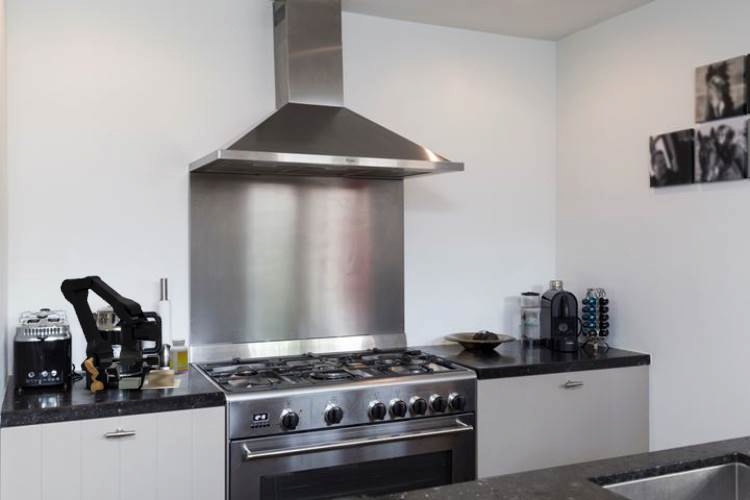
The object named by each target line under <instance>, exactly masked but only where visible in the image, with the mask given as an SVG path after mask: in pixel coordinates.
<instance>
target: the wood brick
mask: <svg viewBox="0 0 750 500" xmlns="http://www.w3.org/2000/svg"><path fill="white" fill-rule="evenodd" d="M175 374H176V373H175V370H170V369H159V370H157V369H156V370H154V369H153V370H150V371H149V372H148V373H147V381H148V387H160V386H173V384H174V382H175V379H176V377H175V376H176V375H175Z"/></svg>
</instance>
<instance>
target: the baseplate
mask: <svg viewBox="0 0 750 500" xmlns="http://www.w3.org/2000/svg"><path fill="white" fill-rule="evenodd" d="M181 382H182V379H181V378H177V379H176V378H175V382H174V384H173V386H160V387H148V380H144V384H143V386H141V388H140V390H152V389H153V390H157V389H178V388H179V387H180V384H181Z"/></svg>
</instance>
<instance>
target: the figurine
mask: <svg viewBox="0 0 750 500" xmlns="http://www.w3.org/2000/svg"><path fill="white" fill-rule="evenodd" d="M92 361H93V358H90V359H89V360H86V361H85V366H86V367H87V370H89V371H90V373H92V374H93V375H92V380H93V381H94V383H92V385H91V389H90V390H91V392H92V393H96V392H97V391H100V390H103V389H104V387H105V384H103V383H102V382H100V381H97V380H95V378H96V377H97V375H98V374H99V373H98V371H97V370H96V369H95V368H94V366H93V363H92ZM93 369H94V370H95V371H94V370H93ZM96 372H97V373H96ZM93 378H94V379H93Z"/></svg>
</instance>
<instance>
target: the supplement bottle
mask: <svg viewBox="0 0 750 500" xmlns="http://www.w3.org/2000/svg"><path fill="white" fill-rule="evenodd" d="M171 341H172V342H171V343H172V345H171V346H170V348H169V370H175V374H177V373H188V372H189V348H188V346H187V345H186V344H185V343H186V339H185V338H174V339H172V340H171Z"/></svg>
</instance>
